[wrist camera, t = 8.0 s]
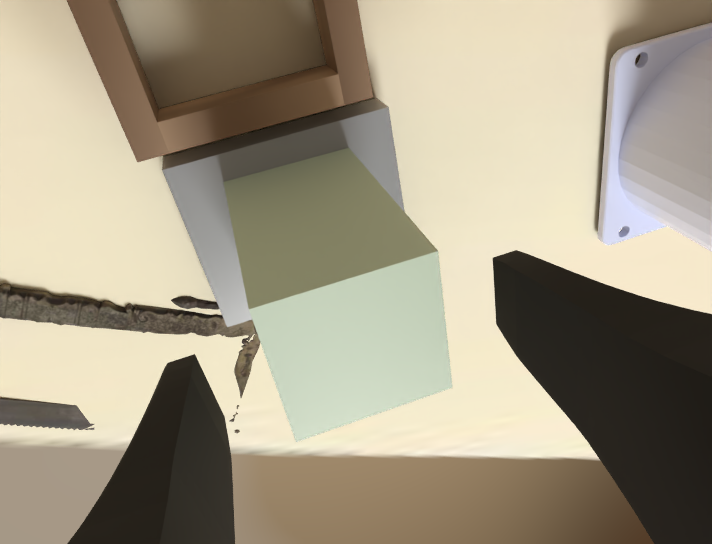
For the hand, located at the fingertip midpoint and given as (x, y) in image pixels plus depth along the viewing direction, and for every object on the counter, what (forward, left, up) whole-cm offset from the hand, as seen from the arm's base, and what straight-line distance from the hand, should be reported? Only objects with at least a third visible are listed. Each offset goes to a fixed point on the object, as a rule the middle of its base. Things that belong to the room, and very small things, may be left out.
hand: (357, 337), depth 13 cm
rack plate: (0, 0, -8) cm, 8 cm away
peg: (0, 0, -6) cm, 6 cm away
